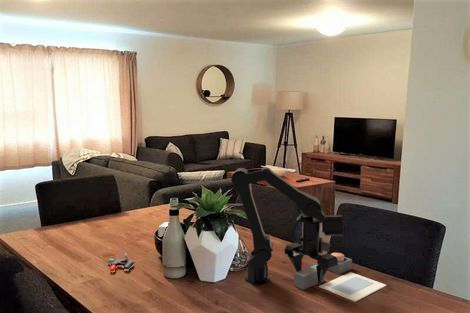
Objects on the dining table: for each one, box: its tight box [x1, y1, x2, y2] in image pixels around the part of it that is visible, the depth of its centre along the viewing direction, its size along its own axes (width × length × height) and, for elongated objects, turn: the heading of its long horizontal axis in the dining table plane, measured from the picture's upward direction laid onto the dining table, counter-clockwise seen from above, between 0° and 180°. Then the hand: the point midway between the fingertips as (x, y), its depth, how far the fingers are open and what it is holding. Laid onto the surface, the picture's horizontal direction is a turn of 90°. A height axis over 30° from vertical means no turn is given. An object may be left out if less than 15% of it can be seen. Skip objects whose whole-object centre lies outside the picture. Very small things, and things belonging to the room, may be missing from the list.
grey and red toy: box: [107, 252, 135, 272], centre depth 159 cm, size 10×12×5 cm
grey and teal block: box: [293, 264, 326, 290], centre depth 146 cm, size 11×4×4 cm, turn 131°
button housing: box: [327, 256, 354, 275], centre depth 160 cm, size 8×8×4 cm
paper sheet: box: [318, 271, 387, 303], centre depth 144 cm, size 18×14×1 cm
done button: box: [330, 252, 345, 263], centre depth 159 cm, size 5×5×3 cm
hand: (309, 279), depth 147 cm, fingers open, 9 cm apart
